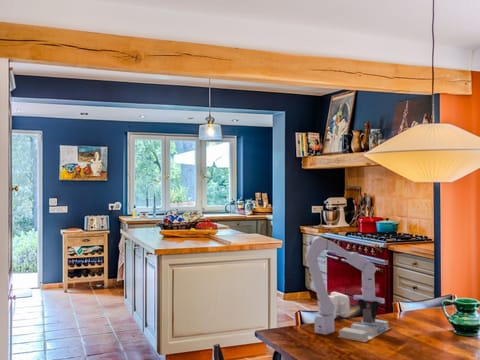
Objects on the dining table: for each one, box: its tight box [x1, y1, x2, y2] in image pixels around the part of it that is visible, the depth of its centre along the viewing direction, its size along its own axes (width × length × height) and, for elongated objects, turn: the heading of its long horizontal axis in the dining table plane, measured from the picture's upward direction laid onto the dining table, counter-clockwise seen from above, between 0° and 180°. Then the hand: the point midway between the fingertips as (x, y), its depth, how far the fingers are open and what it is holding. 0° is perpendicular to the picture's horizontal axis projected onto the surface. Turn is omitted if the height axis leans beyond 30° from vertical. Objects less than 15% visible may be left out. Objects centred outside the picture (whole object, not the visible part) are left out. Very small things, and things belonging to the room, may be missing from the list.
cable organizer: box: [318, 291, 351, 320], centre depth 250 cm, size 15×11×12 cm
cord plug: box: [362, 303, 376, 323], centre depth 221 cm, size 4×4×8 cm
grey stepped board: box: [337, 318, 391, 343], centre depth 218 cm, size 26×13×4 cm, turn 139°
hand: (369, 317), depth 221 cm, fingers closed on cord plug, 4 cm apart
